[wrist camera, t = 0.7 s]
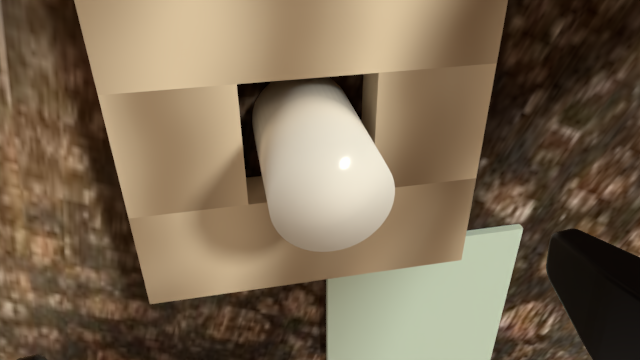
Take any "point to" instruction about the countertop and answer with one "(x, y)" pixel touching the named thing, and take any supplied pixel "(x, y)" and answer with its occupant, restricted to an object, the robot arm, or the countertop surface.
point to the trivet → (425, 305)
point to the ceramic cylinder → (319, 165)
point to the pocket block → (226, 138)
